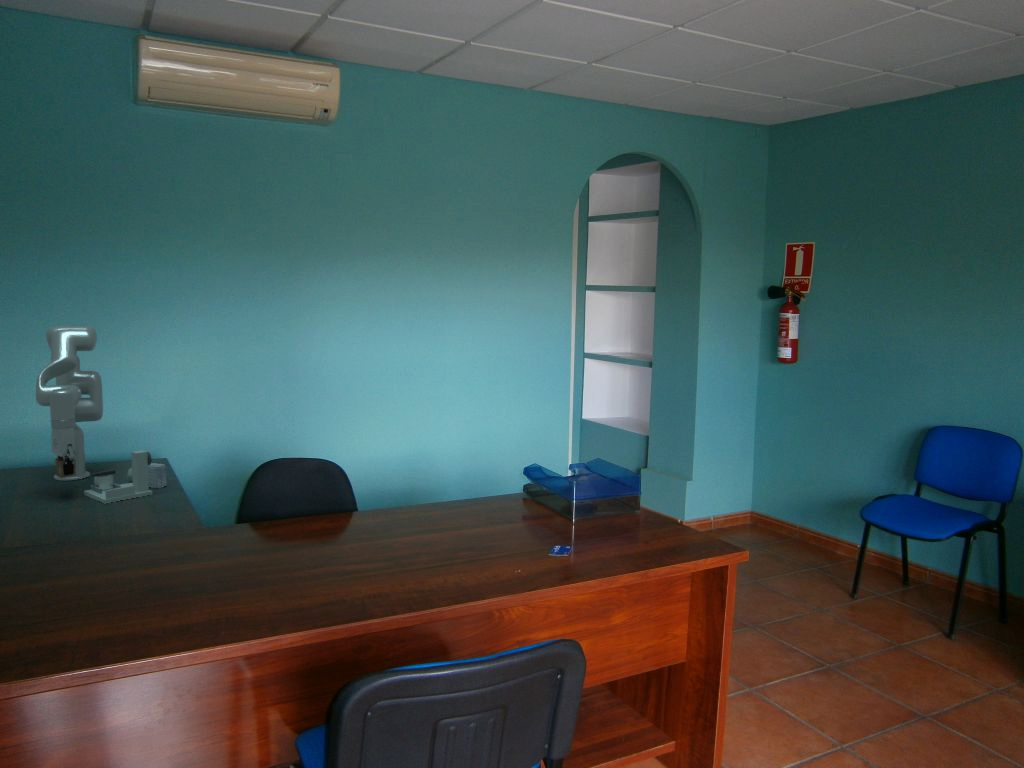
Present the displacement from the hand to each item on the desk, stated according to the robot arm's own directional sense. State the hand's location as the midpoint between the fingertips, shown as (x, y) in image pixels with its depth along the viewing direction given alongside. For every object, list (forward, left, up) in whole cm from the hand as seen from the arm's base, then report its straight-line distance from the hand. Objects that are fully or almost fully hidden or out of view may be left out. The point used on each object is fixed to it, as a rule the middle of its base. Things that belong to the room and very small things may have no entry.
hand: (65, 472), depth 285 cm
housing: (0, 0, -1) cm, 1 cm away
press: (+10, +14, -9) cm, 20 cm away
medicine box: (+7, +29, -9) cm, 31 cm away
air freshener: (-4, +29, -9) cm, 30 cm away
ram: (+4, +12, -7) cm, 14 cm away
